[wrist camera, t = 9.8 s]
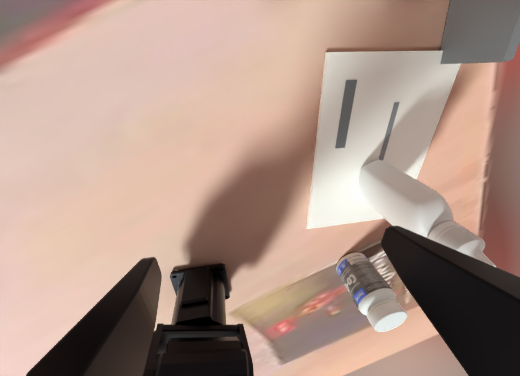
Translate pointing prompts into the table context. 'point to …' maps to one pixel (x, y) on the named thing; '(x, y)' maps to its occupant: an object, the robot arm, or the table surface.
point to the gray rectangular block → (481, 31)
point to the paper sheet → (372, 124)
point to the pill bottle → (370, 292)
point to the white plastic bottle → (416, 208)
